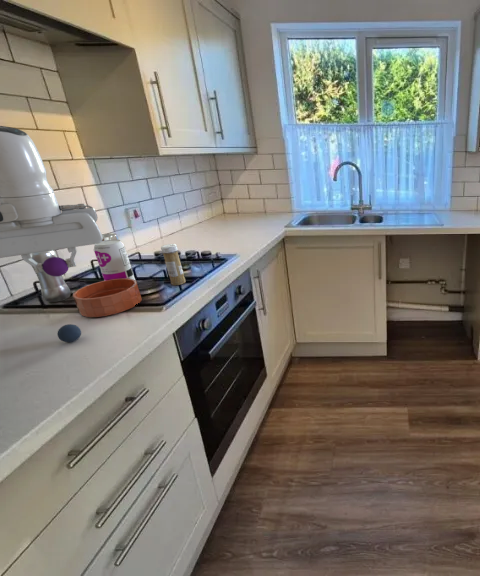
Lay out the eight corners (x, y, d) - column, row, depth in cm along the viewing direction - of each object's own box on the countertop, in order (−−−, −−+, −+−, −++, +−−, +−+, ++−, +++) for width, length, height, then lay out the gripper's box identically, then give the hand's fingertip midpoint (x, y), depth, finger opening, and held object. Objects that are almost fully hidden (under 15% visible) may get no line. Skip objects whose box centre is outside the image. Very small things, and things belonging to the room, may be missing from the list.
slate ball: (57, 344, 88) (50, 328, 87) (76, 335, 92) (70, 320, 90) (68, 347, 87) (61, 331, 85) (87, 338, 91) (81, 322, 89)
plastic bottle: (55, 296, 115) (29, 235, 107) (78, 295, 116) (54, 234, 108) (40, 305, 109) (11, 241, 101) (64, 303, 110) (37, 240, 102)
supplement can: (118, 290, 118) (103, 246, 112) (101, 287, 121) (85, 244, 115) (141, 281, 125) (128, 240, 119) (124, 279, 128) (111, 238, 122)
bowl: (67, 314, 103) (60, 295, 101) (119, 293, 116) (113, 276, 114) (104, 322, 98) (96, 302, 96) (153, 299, 112) (148, 281, 109)
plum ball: (42, 277, 82) (34, 259, 80) (64, 271, 86) (56, 253, 84) (54, 280, 80) (46, 261, 79) (76, 273, 84) (69, 255, 83)
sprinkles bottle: (189, 282, 124) (179, 244, 119) (177, 286, 121) (166, 248, 115) (179, 280, 126) (170, 242, 121) (167, 284, 122) (157, 246, 117)
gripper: (92, 200, 85) (111, 256, 91) (-32, 212, 74) (-2, 275, 79) (92, 204, 80) (112, 262, 86) (-40, 217, 69) (-8, 283, 75)
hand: (56, 269), depth 82 cm, fingers closed on plum ball, 4 cm apart
